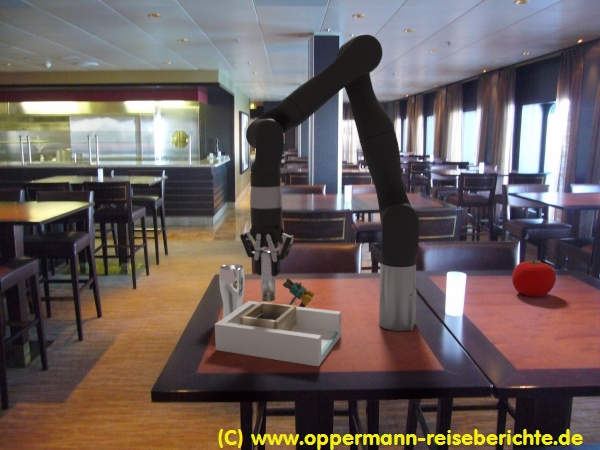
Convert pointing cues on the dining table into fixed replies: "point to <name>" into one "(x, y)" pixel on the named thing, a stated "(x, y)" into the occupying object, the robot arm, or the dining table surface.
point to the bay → (281, 336)
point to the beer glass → (231, 287)
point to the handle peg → (267, 276)
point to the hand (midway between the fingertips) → (267, 274)
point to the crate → (271, 316)
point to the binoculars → (299, 292)
